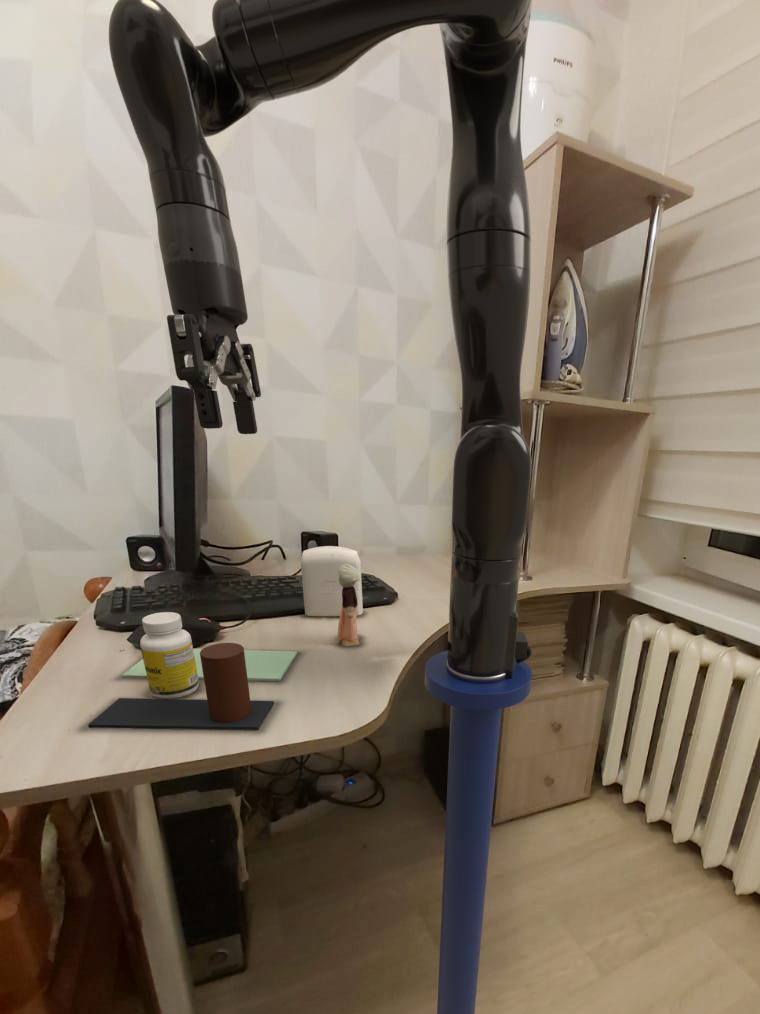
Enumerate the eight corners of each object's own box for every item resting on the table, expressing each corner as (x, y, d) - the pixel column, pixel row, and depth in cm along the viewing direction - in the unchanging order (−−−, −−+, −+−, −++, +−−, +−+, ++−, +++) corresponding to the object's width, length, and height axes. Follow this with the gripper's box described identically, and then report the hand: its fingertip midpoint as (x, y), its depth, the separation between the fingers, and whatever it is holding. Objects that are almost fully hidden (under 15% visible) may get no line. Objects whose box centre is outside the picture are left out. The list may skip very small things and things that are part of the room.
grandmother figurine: (334, 634, 85) (330, 559, 80) (357, 632, 86) (355, 558, 81) (341, 653, 78) (338, 572, 73) (367, 650, 80) (365, 571, 75)
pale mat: (297, 653, 77) (297, 651, 77) (279, 681, 69) (279, 678, 69) (157, 650, 75) (156, 647, 75) (122, 677, 67) (121, 675, 67)
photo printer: (302, 617, 91) (297, 548, 86) (306, 609, 95) (301, 543, 90) (362, 618, 93) (360, 550, 88) (363, 610, 97) (361, 544, 92)
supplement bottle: (144, 688, 65) (128, 615, 61) (190, 676, 68) (178, 606, 65) (158, 705, 61) (143, 628, 58) (206, 691, 65) (194, 618, 61)
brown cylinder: (256, 703, 62) (249, 643, 59) (243, 723, 58) (235, 659, 55) (218, 703, 62) (209, 642, 59) (203, 722, 58) (192, 657, 55)
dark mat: (274, 703, 63) (273, 700, 63) (258, 730, 58) (257, 727, 58) (120, 700, 62) (119, 697, 62) (88, 727, 56) (87, 724, 56)
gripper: (200, 239, 48) (232, 424, 54) (265, 290, 62) (286, 434, 67) (124, 244, 49) (163, 427, 54) (205, 293, 62) (230, 436, 67)
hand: (231, 431), depth 60 cm, fingers open, 8 cm apart
